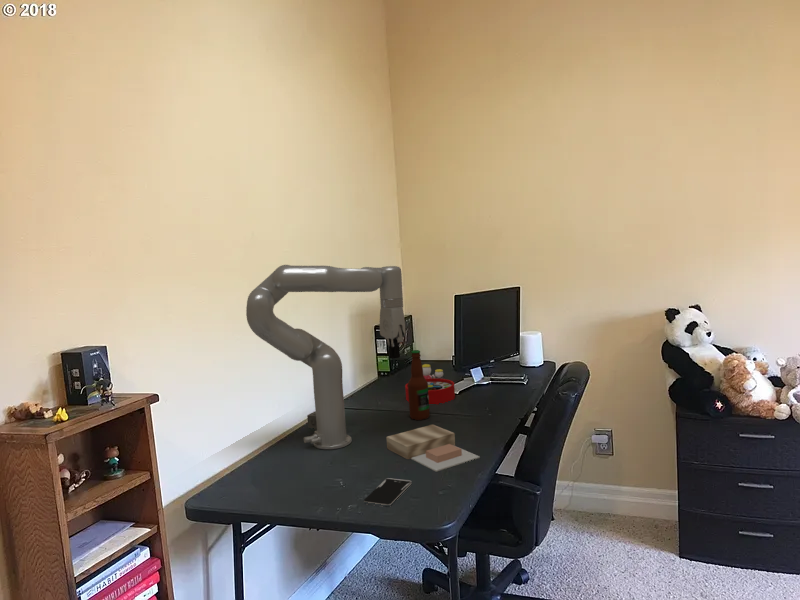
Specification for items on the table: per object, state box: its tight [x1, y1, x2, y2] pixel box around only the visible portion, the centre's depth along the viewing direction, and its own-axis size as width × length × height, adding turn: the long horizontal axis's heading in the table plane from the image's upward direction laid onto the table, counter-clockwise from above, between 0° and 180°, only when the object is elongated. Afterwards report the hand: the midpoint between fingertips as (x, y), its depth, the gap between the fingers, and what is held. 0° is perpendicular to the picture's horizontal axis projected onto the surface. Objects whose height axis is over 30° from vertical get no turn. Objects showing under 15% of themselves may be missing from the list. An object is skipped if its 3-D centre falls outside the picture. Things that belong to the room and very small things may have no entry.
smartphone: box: [363, 477, 412, 505], centre depth 166 cm, size 8×1×15 cm
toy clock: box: [404, 377, 456, 405], centre depth 255 cm, size 20×6×20 cm
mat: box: [411, 445, 481, 473], centre depth 188 cm, size 16×13×1 cm
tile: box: [426, 444, 463, 463], centre depth 189 cm, size 9×6×2 cm, turn 122°
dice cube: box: [306, 410, 317, 430], centre depth 226 cm, size 5×5×5 cm
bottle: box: [408, 349, 431, 421], centre depth 229 cm, size 7×7×25 cm
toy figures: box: [422, 363, 446, 379], centre depth 280 cm, size 12×4×8 cm, turn 70°
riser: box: [385, 424, 456, 460], centre depth 199 cm, size 18×12×4 cm, turn 122°
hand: (394, 357), depth 210 cm, fingers closed
